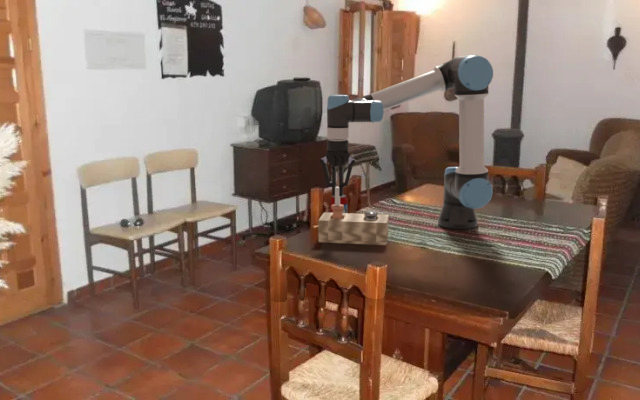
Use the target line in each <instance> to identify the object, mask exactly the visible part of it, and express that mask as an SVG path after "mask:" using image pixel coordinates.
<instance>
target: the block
mask: <svg viewBox="0 0 640 400" xmlns="http://www.w3.org/2000/svg"><path fill="white" fill-rule="evenodd" d="M389 217H390V216H389V214H380V213H379V214H378V213H377V217H376V220H366V217H365V216H364V213H351V212H350V213H343V217H342V219H335V218H333V213H330V211H329V212H326V211H325V212H323V213H322V215H321V216H320V217H319V219H318V228H317V229H318V243H329V244H330V243H333V244H350V245H351V244H352V245H353V244H354V245H372V246H373V245H374V246H387V243H388V238H389V220H390V219H389Z"/></svg>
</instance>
